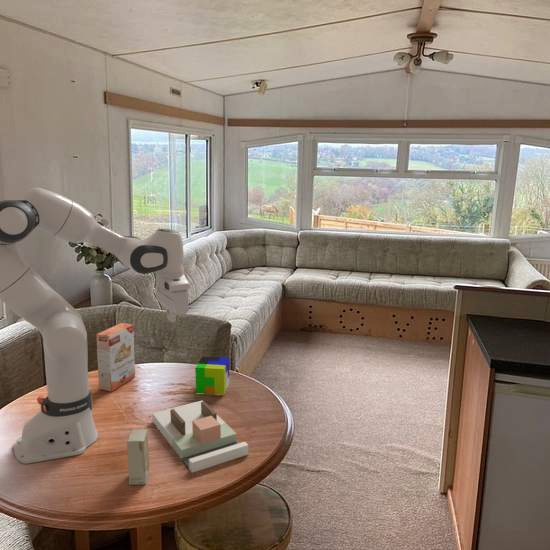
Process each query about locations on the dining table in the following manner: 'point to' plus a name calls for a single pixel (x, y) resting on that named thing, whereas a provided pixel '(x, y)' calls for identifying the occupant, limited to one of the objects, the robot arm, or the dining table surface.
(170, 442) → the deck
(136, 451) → the skincare box
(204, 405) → the channel walls
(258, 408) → the dining table surface
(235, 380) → the dining table surface
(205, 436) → the block
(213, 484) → the dining table surface
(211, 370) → the puzzle toy
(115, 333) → the cracker box
